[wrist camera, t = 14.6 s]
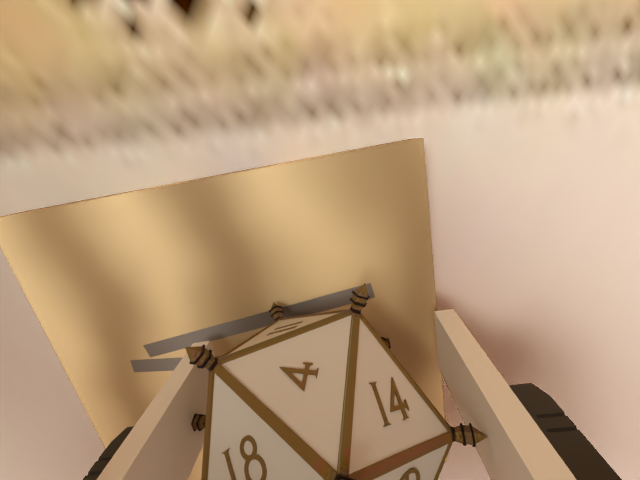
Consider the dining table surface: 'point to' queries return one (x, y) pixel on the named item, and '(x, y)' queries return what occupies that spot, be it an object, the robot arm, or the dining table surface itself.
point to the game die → (319, 405)
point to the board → (228, 269)
